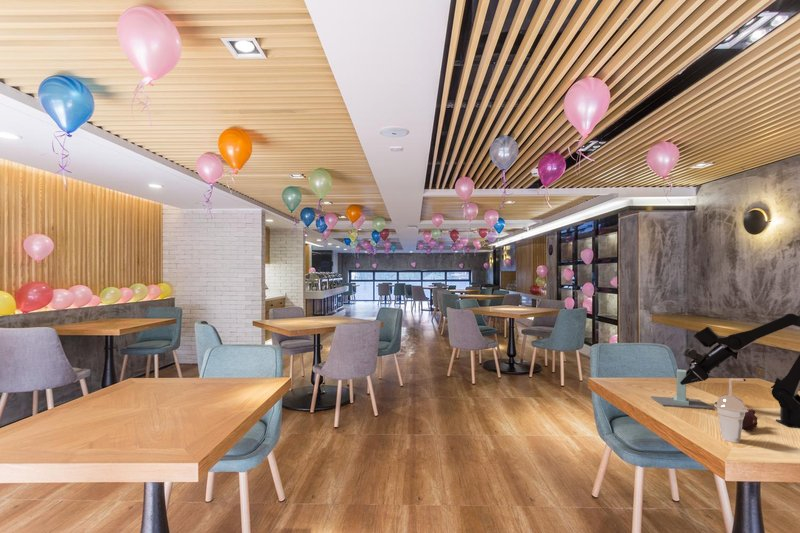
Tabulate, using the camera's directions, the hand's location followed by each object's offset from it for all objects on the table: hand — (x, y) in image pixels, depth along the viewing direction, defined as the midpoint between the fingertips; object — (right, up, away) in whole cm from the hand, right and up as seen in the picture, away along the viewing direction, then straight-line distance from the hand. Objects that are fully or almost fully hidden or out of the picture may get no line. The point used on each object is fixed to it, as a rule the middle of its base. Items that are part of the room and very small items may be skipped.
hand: (681, 381), depth 171 cm
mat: (0, -9, 0) cm, 9 cm away
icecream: (+2, -8, -29) cm, 30 cm away
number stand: (0, -8, 0) cm, 8 cm away
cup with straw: (-11, -8, -39) cm, 42 cm away
